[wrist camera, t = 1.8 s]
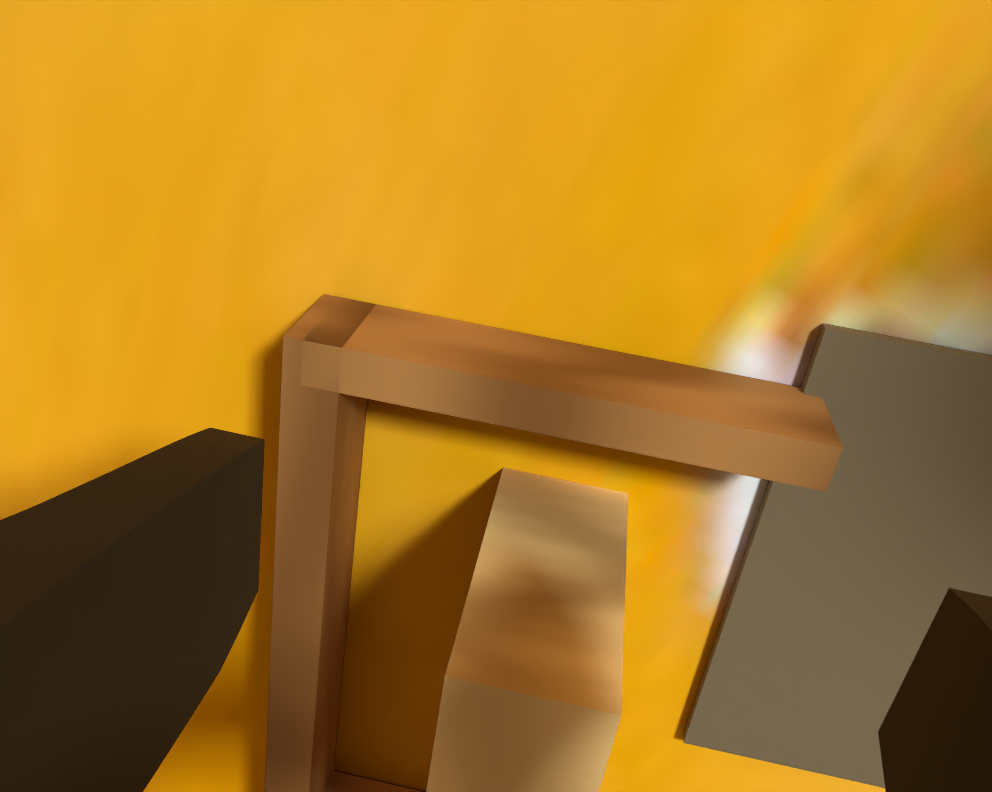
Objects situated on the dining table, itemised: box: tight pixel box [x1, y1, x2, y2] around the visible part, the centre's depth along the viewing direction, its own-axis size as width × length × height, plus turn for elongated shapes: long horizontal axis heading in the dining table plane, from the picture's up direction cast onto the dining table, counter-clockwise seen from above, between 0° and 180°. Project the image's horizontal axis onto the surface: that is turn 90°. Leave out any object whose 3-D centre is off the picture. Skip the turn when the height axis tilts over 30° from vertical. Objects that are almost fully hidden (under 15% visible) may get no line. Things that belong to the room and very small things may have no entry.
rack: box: [265, 294, 843, 792], centre depth 23 cm, size 11×23×2 cm, turn 172°
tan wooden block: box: [426, 468, 628, 792], centre depth 20 cm, size 3×10×7 cm, turn 172°
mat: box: [683, 324, 992, 788], centre depth 21 cm, size 9×12×1 cm
